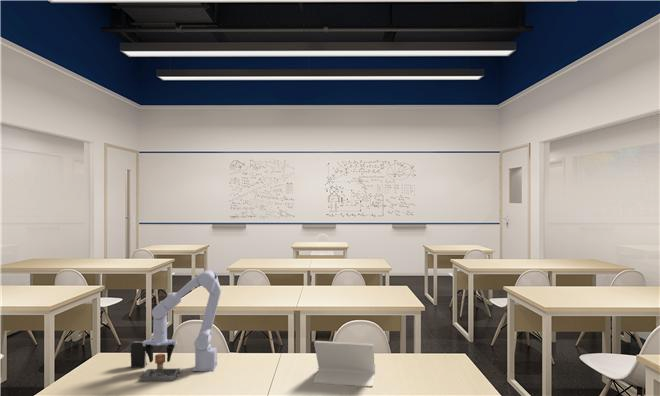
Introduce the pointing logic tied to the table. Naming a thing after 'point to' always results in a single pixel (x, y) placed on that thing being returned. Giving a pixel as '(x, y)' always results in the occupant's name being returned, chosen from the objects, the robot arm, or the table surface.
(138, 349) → the battery charger
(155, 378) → the keyhole plate
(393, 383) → the table surface
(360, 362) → the tablet stand
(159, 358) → the peg
